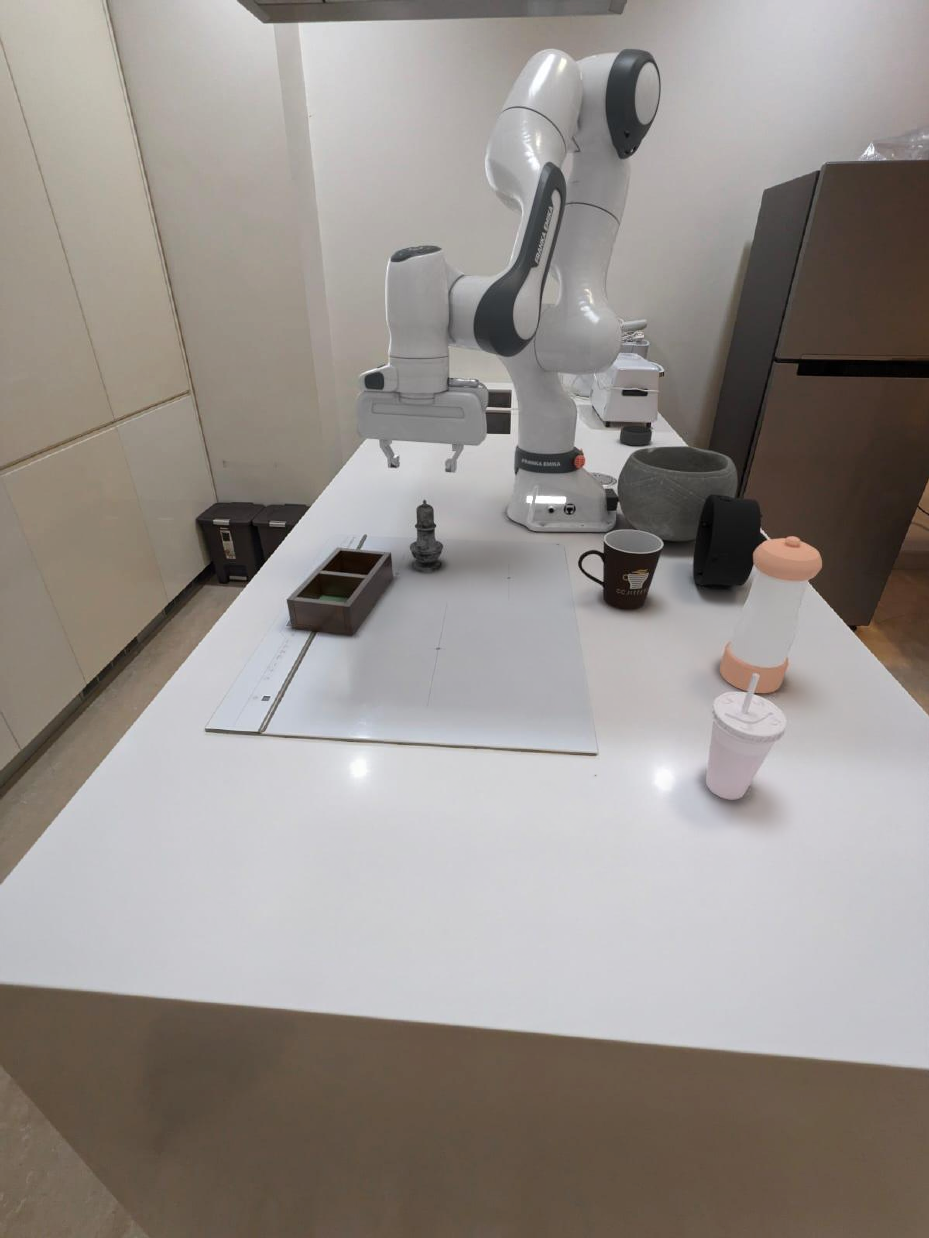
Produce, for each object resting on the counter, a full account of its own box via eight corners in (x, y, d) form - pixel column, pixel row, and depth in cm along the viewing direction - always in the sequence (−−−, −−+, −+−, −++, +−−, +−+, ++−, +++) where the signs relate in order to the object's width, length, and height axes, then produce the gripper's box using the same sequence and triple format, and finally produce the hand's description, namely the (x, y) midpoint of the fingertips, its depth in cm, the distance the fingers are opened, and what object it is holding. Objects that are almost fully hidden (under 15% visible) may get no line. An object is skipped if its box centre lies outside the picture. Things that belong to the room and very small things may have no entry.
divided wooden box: (393, 578, 97) (391, 552, 95) (353, 635, 82) (349, 606, 80) (340, 572, 99) (337, 547, 97) (291, 628, 84) (286, 599, 82)
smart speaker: (654, 441, 171) (656, 427, 169) (644, 448, 165) (647, 434, 163) (624, 437, 175) (626, 423, 173) (614, 444, 169) (616, 430, 167)
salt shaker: (439, 574, 99) (437, 507, 92) (406, 571, 100) (402, 504, 93) (447, 559, 103) (445, 494, 97) (415, 556, 104) (412, 492, 98)
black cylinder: (794, 519, 81) (719, 513, 83) (766, 608, 89) (697, 600, 91) (773, 486, 93) (707, 481, 95) (750, 567, 101) (689, 561, 103)
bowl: (664, 566, 101) (681, 483, 93) (589, 525, 117) (598, 450, 109) (748, 543, 109) (770, 464, 101) (667, 507, 125) (681, 437, 117)
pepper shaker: (776, 700, 70) (828, 557, 60) (713, 681, 73) (753, 542, 63) (784, 670, 75) (833, 533, 65) (725, 653, 79) (763, 520, 68)
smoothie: (681, 764, 61) (711, 655, 54) (740, 760, 62) (777, 652, 54) (708, 812, 56) (745, 699, 48) (772, 808, 56) (818, 695, 49)
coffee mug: (653, 591, 93) (664, 533, 88) (650, 617, 86) (662, 557, 81) (581, 580, 97) (588, 524, 91) (572, 605, 90) (579, 545, 84)
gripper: (492, 376, 86) (489, 468, 93) (362, 370, 90) (369, 459, 97) (484, 383, 81) (482, 480, 88) (347, 376, 84) (355, 470, 92)
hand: (422, 469), depth 92 cm, fingers open, 8 cm apart
